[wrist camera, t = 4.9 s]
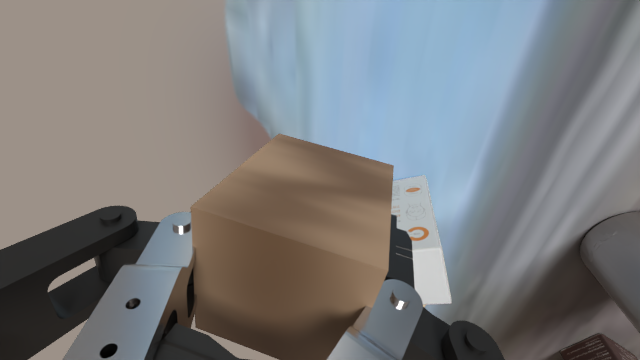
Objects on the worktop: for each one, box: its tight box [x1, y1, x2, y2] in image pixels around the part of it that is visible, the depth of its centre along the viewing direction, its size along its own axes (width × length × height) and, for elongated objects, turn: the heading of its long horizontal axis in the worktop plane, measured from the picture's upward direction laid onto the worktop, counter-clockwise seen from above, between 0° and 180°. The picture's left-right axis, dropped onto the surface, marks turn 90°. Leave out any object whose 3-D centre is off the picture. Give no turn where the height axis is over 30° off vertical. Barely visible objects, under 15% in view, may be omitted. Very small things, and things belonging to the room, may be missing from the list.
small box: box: [391, 175, 452, 305], centre depth 30 cm, size 8×6×13 cm
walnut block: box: [191, 134, 393, 360], centre depth 11 cm, size 5×5×6 cm
